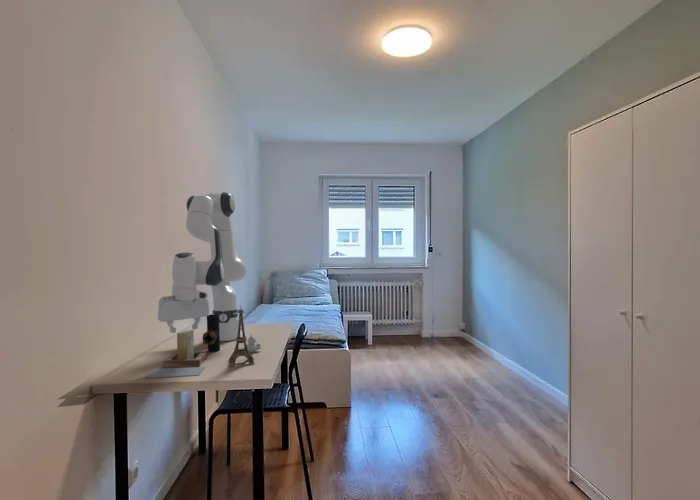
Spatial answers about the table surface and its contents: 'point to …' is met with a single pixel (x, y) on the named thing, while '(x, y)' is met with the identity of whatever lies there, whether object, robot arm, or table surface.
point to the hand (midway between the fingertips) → (184, 330)
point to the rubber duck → (253, 345)
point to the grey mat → (175, 372)
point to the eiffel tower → (239, 339)
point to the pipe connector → (212, 333)
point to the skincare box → (185, 344)
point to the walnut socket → (184, 361)
